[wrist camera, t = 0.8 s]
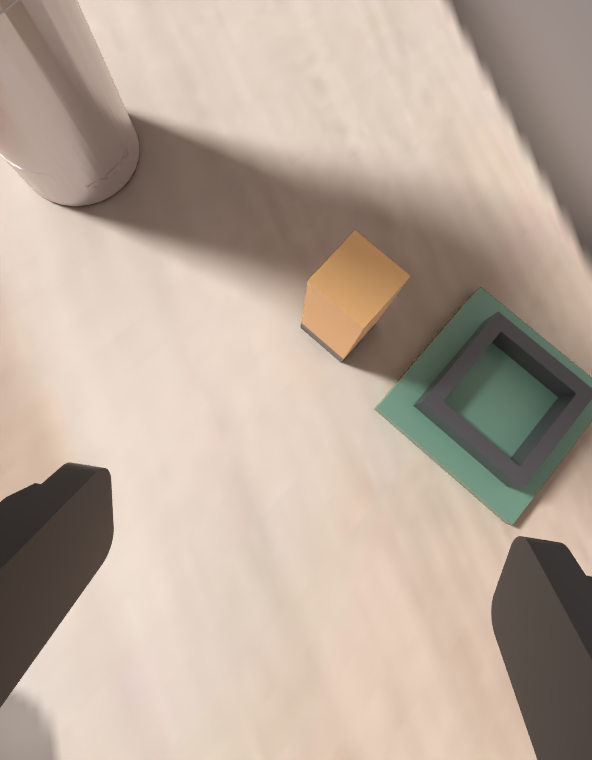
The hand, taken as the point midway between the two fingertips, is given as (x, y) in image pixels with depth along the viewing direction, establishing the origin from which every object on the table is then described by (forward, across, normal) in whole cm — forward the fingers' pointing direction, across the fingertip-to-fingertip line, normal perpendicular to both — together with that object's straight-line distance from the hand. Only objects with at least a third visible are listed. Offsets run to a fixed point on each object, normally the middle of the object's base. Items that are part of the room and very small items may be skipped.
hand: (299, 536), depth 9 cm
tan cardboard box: (+25, 0, +2) cm, 25 cm away
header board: (+24, -12, +6) cm, 27 cm away
